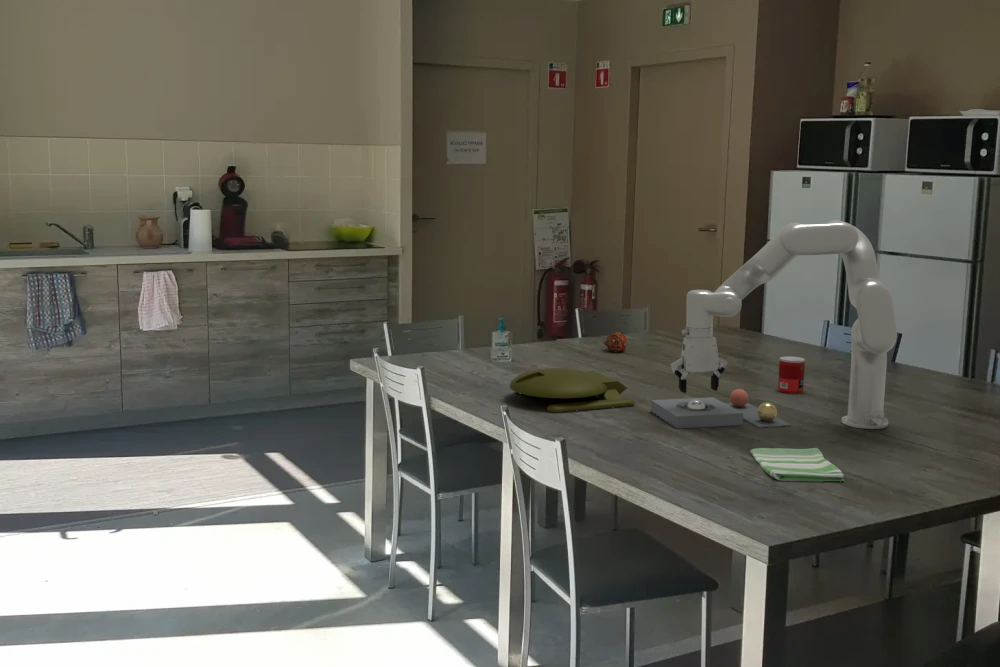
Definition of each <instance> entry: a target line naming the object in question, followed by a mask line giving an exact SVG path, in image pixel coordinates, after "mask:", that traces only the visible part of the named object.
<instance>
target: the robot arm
mask: <svg viewBox="0 0 1000 667" xmlns="http://www.w3.org/2000/svg"><path fill="white" fill-rule="evenodd" d="M821 255H822V256H824V255H840V256H841V259H842V261H843V265H844V270H845V273H846V276H845V277H846V283H847V290H848V298H849V302H850V303H851V306H853V307H854V308H855V309H856V312H857V313H856V314H857V319H856V320H855V321H854V323H853V324H852V327H851V332H850V344H851V346H850V347H851V348H850V349H851V353H850V354H851V355H850V356H851V361H850V372H849V373H850V374H849V389H848V403H847V404H848V405H847V415H844V416H842V417H841V423H842V424H843V425H845V426H848V427H852V428H856V429H863V430H864V429H865V430H878V429H879V430H881V429H885V428H888V426H889V421H888V419H887V418H886V417H885V412H884V403H885V392H886V390H885V389H886V379H887V378H886V376H887V366H888V365H887V364H888V362H887V361H888V357H887V356H888V354H887V353H888V352H889V351H891V350H892V349H893V348H894V346H895V345H896V342H897V338H898V335H897V334H898V333H897V332H898V331H897V323H896V316H895V309H894V302H893V297H892V295H891V294H892V293H891V292H890V290H889V288H888V287H887V285H885V284H884V283H883V282H881V279H880V274H879V273H880V272H879V268H878V263H877V258H876V257H877V256H876V252H875V250H874V248H873V245H872V243H871V241H870V239H869V238H868V237H867V236H866V234H865V233H864V232H862V231H861V230H860V229H859V228H857V227H856V226H854V225H852V224H850V223H848V222H845V221H842V220H839V219H835V220H830V221H827V222H826V223H815V224H804V223H800V222H792V223H788V224H787V225H785V226H784V227H783V228H782V229H780V230H779V231H778V232H777V233H776V234H775V235H774V236H773V237H771V239H770V240H769V241H768V242H767V243H766V244H765V245H764V246H763V247H762V248H760V250H759V251H757V253H755V254H754V255H753V256H752V257H751V258H750V259H749V260H747V261H746V262H745V263H744V264H743V265H741V267H739V268H738V269H737V270H736V271H734V273H732V274H731V275H730V276H729V277H728V278H727V279H726V280H725V281H724V282H723V283H721V285H719V287H718V288H717V289H716V290H715V291H714V292H713V291H711V290H707V289H692V290H689V291H688V292H687V294H686V323H685V324H686V325H685V329H681V334H682V335H685V337H683V342H682V347H681V357H680V358H678V359H677V360H676V361H673V362H671V363H670V368H671V370H672V372H673V373H674V375H675V376H676V377H677V378H678V390H679V391H680V392H681V393H683V394H686V393H687V388H688V386H687V385H688V384H687V379H686V378H687V376H688V375H689V374H701V373H703V374H704V373H711V374H712V375H711V376H710V389H711V390H713V391H715V392H716V391H719V389H718V388H719V385H720V383H719V381H720V377H721V375H722V374H723V372H725V369H726V368H727V365H728V361H727V360H726V359H724V358H722V357H719V352H718V351H719V350H718V343H717V338H716V337H715V336H714V335H713V333H714V316H715V317H716V316H717V317H722V318H723V317H725V318H731V317H734V316H736V315H737V314H739V312H741V309H742V304H743V303H742V300H744V299H745V298H746V297H747V296H748V295H749V294H750V293H751V292H753V290H755V289H756V288H759V286H762V285H763V284H765V283H769V282H771V281H772V280H774V278H776V277H777V276H778V275H780V273H782V272H783V271H784V270H785V268H786V267H787V266H789V265H790V264H791V263H792V262H793V261H794V260H795V259H797V258H798V256H821ZM719 363H720V365H719ZM679 366H680V368H681V370H680V371H679V369H678V367H679Z"/></svg>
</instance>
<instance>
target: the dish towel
mask: <svg viewBox="0 0 1000 667" xmlns="http://www.w3.org/2000/svg"><path fill="white" fill-rule="evenodd" d="M749 453H750V454H751V455H752V457H753V458H754V459H755V461H756V463H757V464H758V465H759V466H760V467H761V469H762V470H763V472H765V473H766V474H767V475H768V476H770V477H772V478H774V479H775V480H777V481H780V482H781V481H784V482H788V481H789V482H790V481H791V482H823V481H840V482H839V483H842V482H841V481H844V482H845V480H844V474H843V472H842V470H840V469H839V468H838V467H837V466H836V465H834V464H833V463H831V462H830V461H829V460H828V459H826V458H824V454H823V453H822V451H820V449H819V448H818V447H813V448H781V447H779V448H773V447H772V448H771V447H770V448H769V447H758V448H756V447H755V448H752V449H750V451H749Z"/></svg>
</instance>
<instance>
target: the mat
mask: <svg viewBox="0 0 1000 667" xmlns="http://www.w3.org/2000/svg"><path fill="white" fill-rule="evenodd" d="M724 403H725V404H727V405H729V406H731V407H733V408H735V409H736V410H738V411H740V412H742V413H743V420H744V421H745V422H747V423H749V424H750V425H753V426H754V427H756V428H758V429H763V428H764V427H768V428H781V427H783V426H786V427H792V424H790V423H789V422H786V421H785V420H783V419H780V418H779V417H777V416H776V417H775V419H774V420H772V421H769V422H765V421H763V420H761V419H760V418H759V417H758V414H757V410H758V407H757V406H754V405H753V404H751V403H749V402H747V404H746V405H744V406H742V407H736V406H734V405H733V404H732V403H731V402H729V403H728V402H724ZM764 429H765V428H764Z"/></svg>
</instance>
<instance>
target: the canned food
mask: <svg viewBox="0 0 1000 667" xmlns="http://www.w3.org/2000/svg"><path fill="white" fill-rule="evenodd" d="M805 367H806V359H805V358H803V357H798V356H780V357H779V362H778V383H777V384H778V385H777V390H778V392H780V393H782V392H784V393H783V394H788V393H796V394H795V395H798V394H797V393H799V394H802V393H803V392H804V384H805V383H804V382H805Z"/></svg>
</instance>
